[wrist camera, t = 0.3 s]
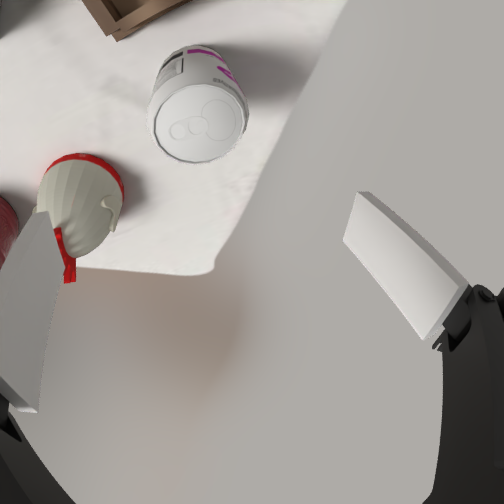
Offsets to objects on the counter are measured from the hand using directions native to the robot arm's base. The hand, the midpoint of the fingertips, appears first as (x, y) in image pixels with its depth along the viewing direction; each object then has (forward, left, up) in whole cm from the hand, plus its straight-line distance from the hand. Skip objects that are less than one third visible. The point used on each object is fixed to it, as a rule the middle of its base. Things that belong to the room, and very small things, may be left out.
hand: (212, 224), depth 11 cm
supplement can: (+1, +2, -27) cm, 27 cm away
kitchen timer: (+24, +8, -27) cm, 37 cm away
